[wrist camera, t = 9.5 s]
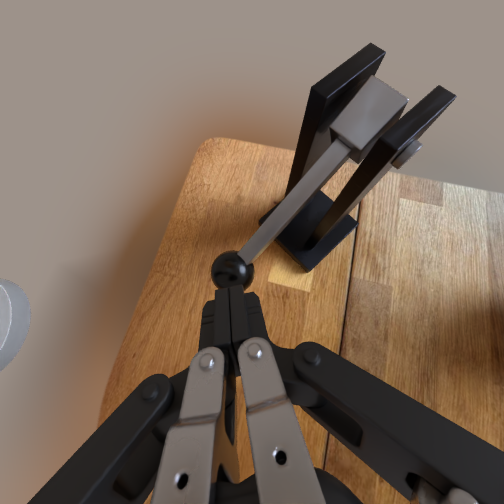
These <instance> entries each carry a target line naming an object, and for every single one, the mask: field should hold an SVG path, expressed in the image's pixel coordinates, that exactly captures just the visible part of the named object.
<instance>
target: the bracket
mask: <svg viewBox="0 0 504 504" xmlns="http://www.w3.org/2000/svg"><path fill="white" fill-rule="evenodd" d="M385 53H386V52H385V51H384V50H382V49H380V48H379V47H377V46H375V45H374V44H372V43H369V44H368V45H367V46H365V47H364V48H363V49H361V50H360V51H359V52H357V53H356V54H355V55H353V56H352V57H351V58H349V59H348V60H347V61H345V62H344V63H343V64H341V65H340V66H339V67H337V68H336V69H335V70H333V71H332V72H331V73H329V74H328V75H327V76H325V77H324V78H323V79H321V80H320V81H319V82H317V83H316V84H315V85H313V86H312V87H311V90H310V95H309V98H308V102H307V106H306V111H305V115H304V119H303V123H302V127H301V131H300V135H299V139H298V144H297V148H296V152H295V156H294V160H293V164H292V168H291V172H290V177H289V181H288V185H287V189H286V193H285V197H284V199H285V198H286V196H287V195H288V194H289V193H290V192H291V191H292V189H293V188H294V187H295V186H296V185H297V184H298V182H299V181H300V180H301V179H302V178H303V177H304V175H305V174H306V173H307V172H308V171H309V170H310V168H311V167H312V166H313V165H314V164H315V163H316V162H317V160H318V159H319V158H320V157H321V156H322V155H323V153H324V152H325V151H326V150H327V149H328V148H329V146H330V145H331V144H332V143H331V137H330V129H329V126H330V124H331V123H332V122H333V121H334V120H335V118H336V117H337V116H338V115H339V113H340V112H341V111H342V110H343V109H344V107H345V106H346V105H347V104H348V103H349V101H350V100H351V99H352V98H353V97H354V95H355V94H356V93H357V92H358V91H359V89H360V88H361V87H362V86H363V85H364V83H365V82H366V81H367V80H368V79H369V77H370V76H371V75H373V76H374V75H375V74H376V71H377V70H378V68H379V66H380V64H381V62H382V59H383V58H384V56H385ZM456 97H457V96H456V95H455V94H453V93H451V92H450V91H448V90H446V89H444V88H443V87H442V86H440V85H438V86H437V87H436V88H435V89H433V91H431V92H430V93H429V94H428V95H427V96H425V97H424V98H423V99H422V100H421V101H420V102H419V103H418V104H416V105H415V106H414V107H413V108H412V109H411V110H410V111H408V112H407V113H406V114H405V115H404V116H403V117H402V118H400V119H399V120H398V121H397V122H396V123H395V124H394V125H392V126H391V127H390V128H389V129H388V130H387V131H386V132H385V133H383V134H382V135H381V136H380V137H379V138H378V140H377V141H376V143H375V144H374V145H373V147H372V148H371V150H370V151H369V153H368V154H367V155H366V157H365V158H364V160H363V161H362V163H361V164H360V165H359V167H358V168H357V170H356V171H355V173H354V174H353V176H352V177H351V178H350V180H349V181H348V183H347V184H346V186H345V187H344V188H343V190H342V191H341V193H340V194H339V196H338V197H337V198H336V200H335V201H334V202H333V201H332V200H331V199H330V198H329V197H328V196H327V195H325V194H324V193H323V192H322V191H321V190H319V191H318V192H317V193H316V195H315V196H314V197H313V198H312V199H311V200H310V201H309V202H308V203H307V204H306V205H305V207H304V208H303V209H302V210H301V211H300V212H299V213H298V214H297V215H296V216H295V217H294V219H293V220H292V221H291V222H290V223H289V224H288V225H287V226H286V227H285V228H284V229H283V231H282V232H281V233H280V234H279V235H278V236H277V237H276V238H275V239H274V240H275V241H276V242H277V243H278V244H279V245H280V246H281V247H282V248H283V249H284V250H285V251H286V252H287V253H288V254H289V255H290V256H291V257H292V258H293V259H294V260H295V261H296V262H297V263H298V264H299V265H300V266H301V267H302V268H303V269H304V270H305V271H306V272H307V273H309V272H310V271H311V270H312V269H313V268H314V267H315V266H316V265H317V264H318V263H319V262H320V261H321V260H322V259H323V258H324V257H325V256H327V255H328V254H329V253H330V252H331V251H332V250H333V249H334V248H335V247H336V246H337V245H338V244H339V243H340V242H341V241H342V240H343V239H344V238H345V237H346V236H347V235H348V234H349V233H350V232H351V231H352V230H353V229H354V228H356V227H357V226H358V225H359V223H358V222H357V221H355V220H354V219H353V218H352V217H351V216H350V215H349V213H350V212H351V211H352V210H353V208H354V207H355V206H356V205H357V204H358V203H359V202H360V201H361V200H362V199H363V198H364V197H365V196H366V194H367V193H368V192H369V191H370V190H371V189H372V188H373V187H374V186H375V185H376V184H377V183H378V182H379V180H380V179H381V178H382V177H383V176H384V175H385V174H386V173H387V172H388V171H389V170H390V168H391V167H392V166H394V167H395V168H397V169H400V168H401V167H402V166H403V165H404V164H405V163H406V162H407V161H408V160H409V159H410V158H411V157H412V156H413V155H414V154H415V153H416V152H417V151H418V150H419V149H420V148H421V147H422V146H423V145H422V144H421V143H420V142H419V141H417V139H418V138H419V137H420V136H421V135H422V134H423V133H424V132H425V131H426V130H427V129H428V128H429V126H430V125H431V124H432V123H433V122H434V121H435V120H436V119H437V118H438V117H439V116H440V114H442V112H443V111H444V110H445V109H446V108H447V107H448V106H449V105H450V104H451V103H452V101H454V100H455V98H456ZM284 199H283V200H284ZM283 200H282V201H283ZM282 201H281V202H282ZM281 202H279V203H278V204H277V205H276V206H275V207H274V208H272V209H271V210H270V211H269V212H268V213H267V214H265V215H264V216H263V217H262V218H261V219H260V220H259V225H260V226H261V225H262V224H263V223H264V222H265V221H266V220H267V218H268V217H269V216H270V215H271V214H272V213H273V211H274V210H275V209H276V208H277V207H278V206H279V204H280V203H281Z"/></svg>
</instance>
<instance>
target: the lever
mask: <svg viewBox="0 0 504 504" xmlns="http://www.w3.org/2000/svg"><path fill="white" fill-rule="evenodd" d="M408 100H409V99H408V98H407V97H405V96H404V95H402V94H401V93H399V92H398V91H396V90H395V89H393V88H391V87H390V86H389V85H387V84H386V83H384V82H383V81H381V80H380V79H378V78H376V77H375V76H373V75H371V76H370V77H369V79H368V80H367V81H366V82H365V83H364V85H363V86H362V87H361V88H360V89H359V91H358V92H357V93H356V94H355V95H354V97H353V98H352V99H351V100H350V101H349V103H348V104H347V105H346V106H345V107H344V109H343V110H342V111H341V112H340V113H339V115H338V116H337V117H336V118H335V120H334V121H333V122H332V123H331V124H330V126H329V129H330V137H331V143H332V144H331V145H330V146H329V148H328V149H327V150H326V151H325V152H324V153H323V155H322V156H321V157H320V158H319V159H318V160H317V162H316V163H315V164H314V165H313V166H312V167H311V168H310V170H309V171H308V172H307V173H306V174H305V175H304V177H303V178H302V179H301V180H300V181H299V182H298V184H297V185H296V186H295V187H294V188H293V189H292V191H291V192H290V193H289V194H288V195H287V196H286V198H285V199H284V200H283V201H282V202H281V203H280V204H279V206H278V207H277V208H276V209H275V210H274V211H273V213H272V214H271V215H270V216H269V217H268V218H267V220H266V221H265V222H264V223H263V224H262V225H261V227H260V228H259V229H258V230H257V231H256V232H255V233H254V235H253V236H252V237H251V238H250V239H249V240H248V242H247V243H246V244H245V245H244V246H243V247H242V249H241V250H240V251H234V250H232V251H226V252H224V253H222V254H220V255H219V256H218V257H217V258H216V259H215V260H214V262H213V264H212V267H211V278H212V281H213V283H214V285H215V286H216V287H217V288H218V289H223V288H228V287H232V286H237V285H243V289H244V291H245V290H246V289H247V288H248V287H249V286H250V285H251V283H252V282H253V279H254V274H255V270H254V265H253V262H254V261H255V260H256V259H257V258H258V257H259V256H260V255H261V253H262V252H263V251H264V250H265V249H266V248H267V247H268V246H269V245H270V244H271V243H272V241H273V240H274V239H275V238H276V237H277V236H278V235H279V234H280V233H281V232H282V231H283V229H284V228H285V227H286V226H287V225H288V224H289V223H290V222H291V221H292V220H293V219H294V217H295V216H296V215H297V214H298V213H299V212H300V211H301V210H302V209H303V208H304V207H305V205H306V204H307V203H308V202H309V201H310V200H311V199H312V198H313V197H314V196H315V195H316V193H317V192H318V191H319V190H320V189H321V188H322V187H323V186H324V185H325V184H326V183H327V181H328V180H329V179H330V178H331V177H332V176H333V175H334V174H335V173H336V172H337V171H338V169H339V168H340V167H341V166H342V165H343V164H344V163H345V162H346V161H347V160H348V158H351V159H352V160H353V161H355V162H356V163H357V164H359V163H360V162H361V161H362V160H363V159H364V158H365V157H366V155H367V154H368V153H369V151H370V150H371V148H372V147H373V145H374V144H375V143H376V141H377V140H378V138H379V137H380V136H381V135H382V134H383V133H385V132H386V131H387V130H388V129H389V128H390V127H391V126H392V125H394V124H395V123H396V122H397V121H398V120H399V118H400V116H401V114H402V112H403V110H404V108H405V106H406V104H407V102H408Z"/></svg>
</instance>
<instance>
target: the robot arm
mask: <svg viewBox="0 0 504 504" xmlns="http://www.w3.org/2000/svg"><path fill="white" fill-rule="evenodd" d="M237 376H241V378H242V384H243V390H244V397H245V403H246V419H247V426H248V432H249V438H250V445H251V451H252V457H253V464H254V470H255V474H253V475H252V476H250V477H248V478H247V479H245V480H244V481H242V482H240V473H239V461H238V454H237V392H236V377H237ZM292 404H293V405H299V406H300V407H301V408H302V409H303V410H304V411H305V412H306V413H307V414H309V415H310V416H311V417H312V418H313V419H314V420H316V421H317V422H318V423H319V424H320V425H321V426H323V427H324V428H325V429H326V430H327V431H328V432H330V433H331V434H332V435H333V436H334V437H335V438H337V439H338V440H339V441H340V442H341V443H342V444H344V445H345V446H346V447H347V448H348V449H349V450H351V451H352V452H353V453H354V454H355V455H356V456H358V457H359V458H360V459H361V460H362V461H363V462H365V463H366V464H367V465H368V466H369V467H370V468H371V469H373V470H374V471H375V472H376V473H377V474H378V475H380V476H381V477H382V478H383V479H384V480H385V481H387V482H388V483H389V484H390V485H391V486H392V487H394V488H395V489H396V490H397V491H398V492H399V493H401V494H402V495H403V496H404V497H405V498H406V499H408V500H409V501H410V504H504V452H503V451H501V450H499V449H498V448H496V447H494V446H493V445H491V444H489V443H487V442H486V441H484V440H482V439H481V438H479V437H477V436H476V435H474V434H472V433H470V432H469V431H467V430H465V429H464V428H462V427H460V426H458V425H457V424H455V423H453V422H452V421H450V420H448V419H447V418H445V417H443V416H441V415H440V414H438V413H436V412H435V411H433V410H431V409H429V408H428V407H426V406H424V405H423V404H421V403H419V402H417V401H416V400H414V399H412V398H411V397H409V396H407V395H406V394H404V393H402V392H400V391H399V390H397V389H395V388H394V387H392V386H390V385H388V384H387V383H385V382H383V381H382V380H380V379H378V378H377V377H375V376H373V375H371V374H370V373H368V372H366V371H365V370H363V369H361V368H359V367H358V366H356V365H354V364H353V363H351V362H349V361H347V360H346V359H344V358H342V357H341V356H339V355H337V354H336V353H334V352H332V351H330V350H329V349H327V348H325V347H324V346H322V345H320V344H318V343H315V342H303V343H301V344H299V345H298V346H297V347H296V348H295V349H287V348H281V347H278V346H276V345H275V344H273V343H272V342H271V341H270V339H269V337H268V334H267V330H266V326H265V321H264V317H263V313H262V309H261V305H260V300H259V297H258V296H257V295H256V294H255V293H254V292H249V293H245V294H244V289H243V285H237V286H232V287H228V288H223V289H218V290H215V300H211V301H207V303H206V304H205V306H204V308H203V311H202V320H201V329H200V339H199V348H198V353H197V354H196V355H195V356H194V357H193V359H192V361H191V364H190V366H189V367H188V368H186V369H185V370H183V371H182V372H180V373H178V374H176V375H174V376H172V377H170V378H168V377H167V376H166V375H164V374H155V375H152V376H150V377H148V378H146V379H145V380H144V381H142V382H141V383H140V384H139V385H138V387H137V388H136V389H135V390H134V391H133V392H132V393H131V394H130V395H129V396H128V397H127V398H126V399H125V400H124V401H123V402H122V403H121V405H120V406H119V407H118V408H117V409H116V410H115V411H114V412H113V413H112V414H111V415H110V416H109V417H108V418H107V419H106V420H105V422H104V423H103V424H102V425H101V426H100V427H99V428H98V429H97V430H96V431H95V432H94V433H93V434H92V435H91V436H90V438H89V439H88V440H87V441H86V442H85V443H84V444H83V445H82V446H81V447H80V448H79V449H78V450H77V451H76V452H75V453H74V454H73V456H72V457H71V458H70V459H69V460H68V461H67V462H66V463H65V464H64V465H63V466H62V467H61V468H60V469H59V470H58V471H57V473H56V474H55V475H54V476H53V477H52V478H51V479H50V480H49V481H48V482H47V483H46V484H45V485H44V486H43V487H42V488H41V490H40V491H39V492H38V493H37V494H36V495H35V496H34V497H33V498H32V499H31V500H30V501H29V502H28V503H27V504H143V503H144V502H145V500H146V499H147V497H148V496H149V494H150V493H151V491H152V490H153V488H154V490H153V494H152V498H151V502H150V504H363V503H362V502H361V501H360V500H359V499H358V498H357V497H356V496H355V495H354V494H353V493H352V491H351V490H350V489H349V488H348V487H346V486H345V485H344V484H343V483H342V482H341V481H339V480H338V479H337V478H336V477H334V476H333V475H331V474H329V473H328V472H326V471H324V470H322V469H320V468H316V467H313V464H312V461H311V458H310V455H309V452H308V449H307V446H306V443H305V440H304V437H303V434H302V431H301V429H300V426H299V423H298V420H297V417H296V414H295V411H294V408H293V405H292Z"/></svg>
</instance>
